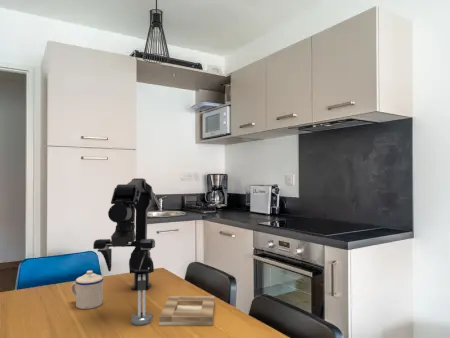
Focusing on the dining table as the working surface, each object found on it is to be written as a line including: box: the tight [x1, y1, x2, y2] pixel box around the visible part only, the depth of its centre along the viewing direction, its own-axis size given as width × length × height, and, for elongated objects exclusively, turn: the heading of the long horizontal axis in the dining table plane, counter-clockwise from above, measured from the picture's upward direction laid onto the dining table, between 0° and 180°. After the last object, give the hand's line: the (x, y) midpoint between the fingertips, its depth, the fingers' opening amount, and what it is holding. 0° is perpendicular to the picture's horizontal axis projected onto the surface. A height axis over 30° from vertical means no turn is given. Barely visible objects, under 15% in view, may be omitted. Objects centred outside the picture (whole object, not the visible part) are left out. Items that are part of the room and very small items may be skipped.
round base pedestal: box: [130, 274, 153, 327], centre depth 106 cm, size 6×6×14 cm
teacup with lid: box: [70, 270, 104, 310], centre depth 120 cm, size 12×9×12 cm
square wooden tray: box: [158, 295, 216, 327], centre depth 112 cm, size 18×16×2 cm
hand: (124, 271), depth 111 cm, fingers open, 9 cm apart
